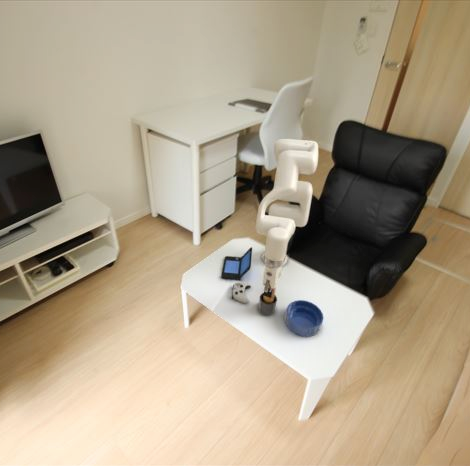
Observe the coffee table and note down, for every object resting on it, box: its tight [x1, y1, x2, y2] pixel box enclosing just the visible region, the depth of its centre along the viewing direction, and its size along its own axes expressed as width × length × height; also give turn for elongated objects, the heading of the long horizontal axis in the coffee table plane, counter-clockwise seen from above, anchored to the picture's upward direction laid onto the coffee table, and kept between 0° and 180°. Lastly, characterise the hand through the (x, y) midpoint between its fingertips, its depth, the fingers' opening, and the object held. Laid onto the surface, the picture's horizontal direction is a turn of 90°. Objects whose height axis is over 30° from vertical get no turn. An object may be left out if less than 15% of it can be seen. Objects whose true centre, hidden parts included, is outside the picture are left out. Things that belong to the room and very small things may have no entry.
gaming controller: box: [231, 281, 251, 305], centre depth 139 cm, size 11×6×7 cm
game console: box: [220, 246, 253, 282], centre depth 150 cm, size 16×13×9 cm
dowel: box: [263, 286, 277, 304], centre depth 128 cm, size 4×4×12 cm
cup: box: [258, 292, 278, 316], centre depth 131 cm, size 7×7×7 cm
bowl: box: [284, 299, 324, 338], centre depth 126 cm, size 14×14×6 cm
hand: (269, 291), depth 127 cm, fingers closed on dowel, 4 cm apart
